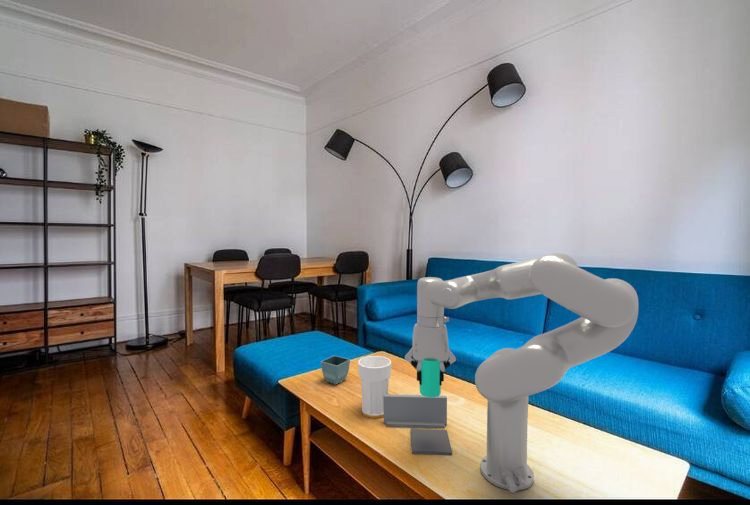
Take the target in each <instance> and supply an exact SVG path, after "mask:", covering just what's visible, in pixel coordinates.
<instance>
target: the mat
mask: <svg viewBox="0 0 750 505" xmlns="http://www.w3.org/2000/svg"><path fill="white" fill-rule="evenodd" d="M410 441H411V442H410V443H411V444H410V445H411V454H412V455H435V456H436V455H437V456H438V455H439V456H453V448H452V446H451V443H450V442H451V441H450V438H449V434H448V429H437V428H410Z"/></svg>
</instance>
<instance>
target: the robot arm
mask: <svg viewBox="0 0 750 505" xmlns="http://www.w3.org/2000/svg"><path fill="white" fill-rule="evenodd" d="M416 284H417V286H416V302H417V304H416V306H417V307H416V314H417V315H416V319H417V320H416V323H415V324H414V326H413V332H412V344H411V345H412V346H411V348H410V349H409V351H408V352H407V353H406V354H405V355H404V360H405V361H406V362H408V363H409V364H410V365H411V366H412V368H414V369H415V371H416V381H418V384H419V386H420V385H421V379H422V372H421V371H420V369H421V361H423V359H424V360H429V361H436V360H439V361H440V386H441V387H442V386H443V385H442V383H443V382H444V381H445V380H444V379H445V376H444V375H445V374H444V372H446V369H447V368H448V367H450V366H451V365H452V364H453V363H455V362H457V358H456V356H455V355H454V354H453V352H452V351H451V350H450V349H449V337H448V329H447V325H446V324H445V323H447V322H449V323H450V317H449V316H445V315H444V314H445V309H450V310H451V309H452V310H453V309H457V308H461V307H463V306H465V305H467V304H470V303H473V302H478V301H483V300H484V301H485V300H490V299H497V298H502V299H505V300H515V299H520V298H526V297H527V298H528V297H533V296H538V295H543V296H544V297H546V298H547V299H549V300H551V301H553V302H554V303H555V304H558V305H560V306H561V307H564V308H565V309H567V310H569V311H570V312H572V313H573V314H574V313H575V314H576V315H578V316H579V317H578V318H577V319H574V320H573V321H571V322H568V323H566V324H563V325H561V326H559V327H557V328H554V329H552V330H550V331H547V332H543V333H541V334H538V335H535V336H533V337H532V338H531V339H529V340H528V341H526V343H524V345H522V346H521V347H518V348H512V347H503V348H501V349H498V350H496V351H495V352H494V353H492V354H491V355H489V357H487V359H485V360H484V361H483V362H481V363H480V365H479V366H478V367H477V369H476V371H475V375H474V385H475V388H476V390H477V392H478V393H479V394H480V395H481V396H482V397H483V398H484V399H486V400H487V402H486V404H487V405H486V407H487V408H486V410H487V411H486V455H485V456H484V457H483V458H481V461H480V465H479V469H480V472H481V474H482V475H483V477H484V479H486V480H487V481H488V482H489V483H491V484H492V485H493V486H494V485H495V486H496V487H497V488H501V489H505V490H507V491H509V492H510V493H513V494H514V493H516V492H518V491H524V490H525V489H526V490H527V489H528V488H530V487H531V486H532V485H533V483H534V476H535V475H534V472H533V470H532V468H531V467H530V466H529V465H528V420H529V419H528V418H529V400H530V399H529V396H532V395H534V394H539V393H541V392H543V391H547V390H548V389H551V388H552V387H554V386H556V385H557V384H558V383H559V382H560V381H561V380H563V378H564V376H565V374H566V373H567V371H569V369H571V368H574V367H576V366H578V365H581V364H584V363H587V362H589V361H591V360H594V359H595V358H598V357H602V356H603V355H605V354H607V353H609V352H610V353H611V351H613V350H615V349H616V348H618V347H619V346H621V344H622V343H624V342H625V341H626V340H627V338H629V336H630V335H631V333H632V332H633V330H634V328H635V326H636V323H637V320H638V316H639V297H638V294H637V291H636V289H635V288H634V287H633V286H632V285H631V284H630V283H629V282H627V281H625V280H623V279H619V278H613V277H612V278H606V279H604V278H602V277H600V276H598V275H595V274H593V273H592V272H589V271H587V270H585V269H583V268H581V267H579V266H578V264H577V262H576V260H575V259H574V258H573V257H572V256H570V255H569V254H565V253H559V252H556V253H551V254H547V255H541V256H538V257H533V258H529V259H525V260H521V261H518V262H517V261H516V262H512V263H507V264H503V265H500V266H498V267H496V268H494V269H491V270H487V271H484V272H479V273H475V274H470V275H465V276H460V277H455V278H453V279H448V280H443V279H442V278H440V277H436V276H435V277H434V276H433V277H432V276H428V277H425V276H424V277H421V278H419V279H418V280H417V282H416ZM412 357H413V358H412Z"/></svg>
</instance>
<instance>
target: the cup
mask: <svg viewBox="0 0 750 505" xmlns="http://www.w3.org/2000/svg"><path fill="white" fill-rule="evenodd" d="M357 366H358V367H357V368H358V369H357V370H358V374H357V375H358V377H359V378H360V381H361V382H360V383H361V403H362V404H361V406H362V407H361V414H362V415H363V416H365V417H366V418H370V419H378V418H379V419H380V418H384V408H383V396H384V394H389V383H390V382H389V380H390V379H389V378H390V377H391V375H392V361H391V359H390V358H388V357H386V356H383V355H382V356H381V355H369V356H365V357H364V356H363V357H362V358H360V359H358V361H357Z"/></svg>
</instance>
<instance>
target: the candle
mask: <svg viewBox="0 0 750 505" xmlns="http://www.w3.org/2000/svg"><path fill="white" fill-rule="evenodd" d="M420 371H421V372H422V379H421V385H420V384H419V395H423V396H426V397H437V396H441V392H442V386H440V361H439V360H436V361H429V360H424V359H423V361H421V369H420Z"/></svg>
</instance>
